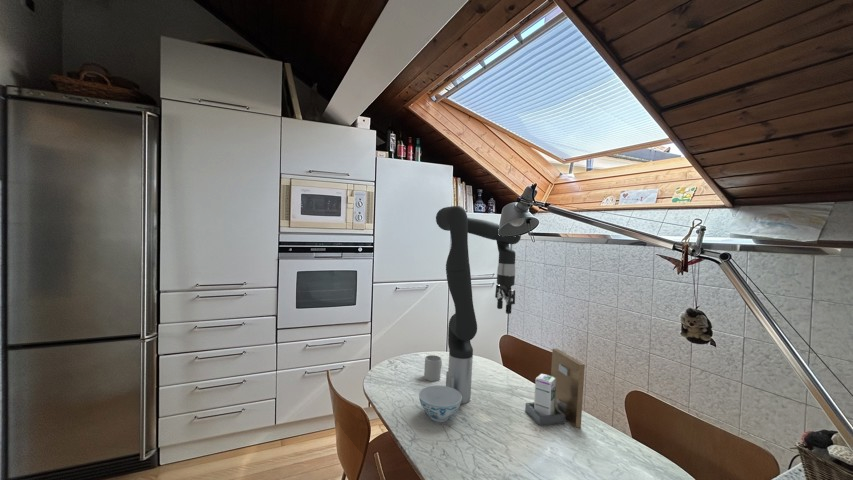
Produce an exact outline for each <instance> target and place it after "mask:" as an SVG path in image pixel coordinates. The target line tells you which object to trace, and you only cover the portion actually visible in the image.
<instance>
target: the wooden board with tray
mask: <svg viewBox="0 0 853 480" xmlns="http://www.w3.org/2000/svg"><path fill="white" fill-rule="evenodd" d="M551 350H552V353H551V368H550V376H553V377H555V378H556V394H555V415H545V416H540V415H539V414H538V413H537V412H536V411H535V410H534V402H525V408H524V411H525V413H527V415H529V417H530V418H531V419H532V420H533V421H534V422H535V423H536V424H537V425H538V426H539V427H542V426H552V425H553V426H554V425H555V426H556V425H564V424H565V422H566V421H567V423H569V424H570V425H571V426H572V427H573V428H575V429H581V428H582V416H583V414H582V413H583V398H584V386H585V385H584V382H585V367H586V364H585V363H583V362H581V361H579V360H577V359H576V358H574V357H573V356H571V355H569V354H567V353H566V352H564V351H562V350H561V349H559V348H552V349H551Z"/></svg>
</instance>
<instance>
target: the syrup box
mask: <svg viewBox="0 0 853 480" xmlns="http://www.w3.org/2000/svg"><path fill="white" fill-rule="evenodd" d="M534 384H535V385H534V410H535V411H536V412H537V413H538V414H539V415H540V416H545V415H555V394H556V378H555V377H553V376H551V374H550V375H549V374H545V373H540V374H539V375H538V376H536V378H535V382H534Z"/></svg>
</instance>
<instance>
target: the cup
mask: <svg viewBox="0 0 853 480" xmlns="http://www.w3.org/2000/svg"><path fill="white" fill-rule="evenodd" d="M442 366H443V363H442V357H441V356H439V355H435V354H434V355H433V354H432V355H431V354H429V355H426V356H425V357H424V372H423V374H424V376H423V377H424V379H425V380H426V381H429V382H437V381H440V379H441V376H442V375H441V371H442Z"/></svg>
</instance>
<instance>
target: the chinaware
mask: <svg viewBox="0 0 853 480" xmlns="http://www.w3.org/2000/svg"><path fill="white" fill-rule="evenodd" d="M418 397H419V403H420V406H421V408H422V409H423V411H424V413H426V414H427V416H429V419H430V420H432V421H433V422H437V423H443V422H446V421H448V420H449V419H450V417H452V416H453V415H454V414H456V412H457V411H458V410H459V408H460V405H461V404H460V403H461V400H462V396H461V394H460V393H459V392H458V391H457V390H455V389H453V388H450V387H447V386H446V385H428V386H425V387H423V388H422V389H420V390H419V392H418Z"/></svg>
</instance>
